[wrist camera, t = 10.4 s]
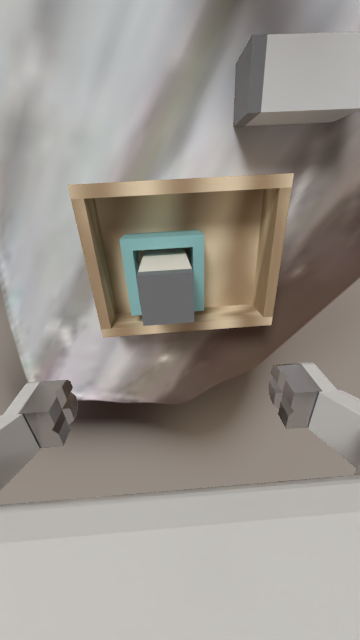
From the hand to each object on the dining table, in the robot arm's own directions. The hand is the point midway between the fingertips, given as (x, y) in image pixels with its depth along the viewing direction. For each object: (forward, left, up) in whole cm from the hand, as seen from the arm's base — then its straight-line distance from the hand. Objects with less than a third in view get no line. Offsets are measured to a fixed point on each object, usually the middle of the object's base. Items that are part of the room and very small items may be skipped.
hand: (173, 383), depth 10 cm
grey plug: (-12, -14, -19) cm, 26 cm away
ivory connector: (0, 0, -18) cm, 18 cm away
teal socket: (0, 0, -19) cm, 19 cm away
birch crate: (-2, -1, -19) cm, 19 cm away
